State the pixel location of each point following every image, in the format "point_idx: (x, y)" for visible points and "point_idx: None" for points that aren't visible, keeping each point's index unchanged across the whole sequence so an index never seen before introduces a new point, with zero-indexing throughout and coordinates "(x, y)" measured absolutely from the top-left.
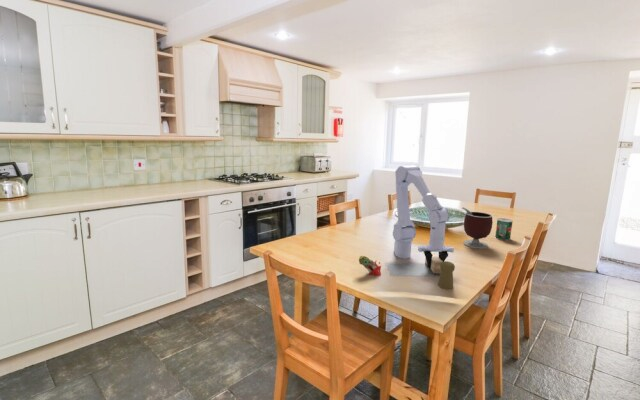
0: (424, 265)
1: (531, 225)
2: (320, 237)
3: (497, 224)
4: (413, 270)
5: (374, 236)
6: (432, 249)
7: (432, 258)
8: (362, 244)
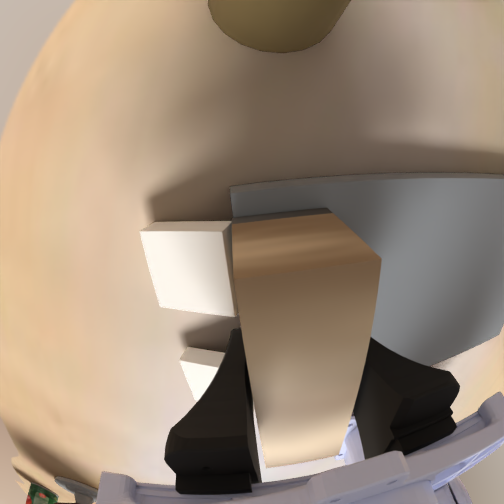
0: None
1: (27, 495)
2: None
3: None
4: (437, 277)
5: None
6: (436, 464)
7: (338, 396)
8: None
